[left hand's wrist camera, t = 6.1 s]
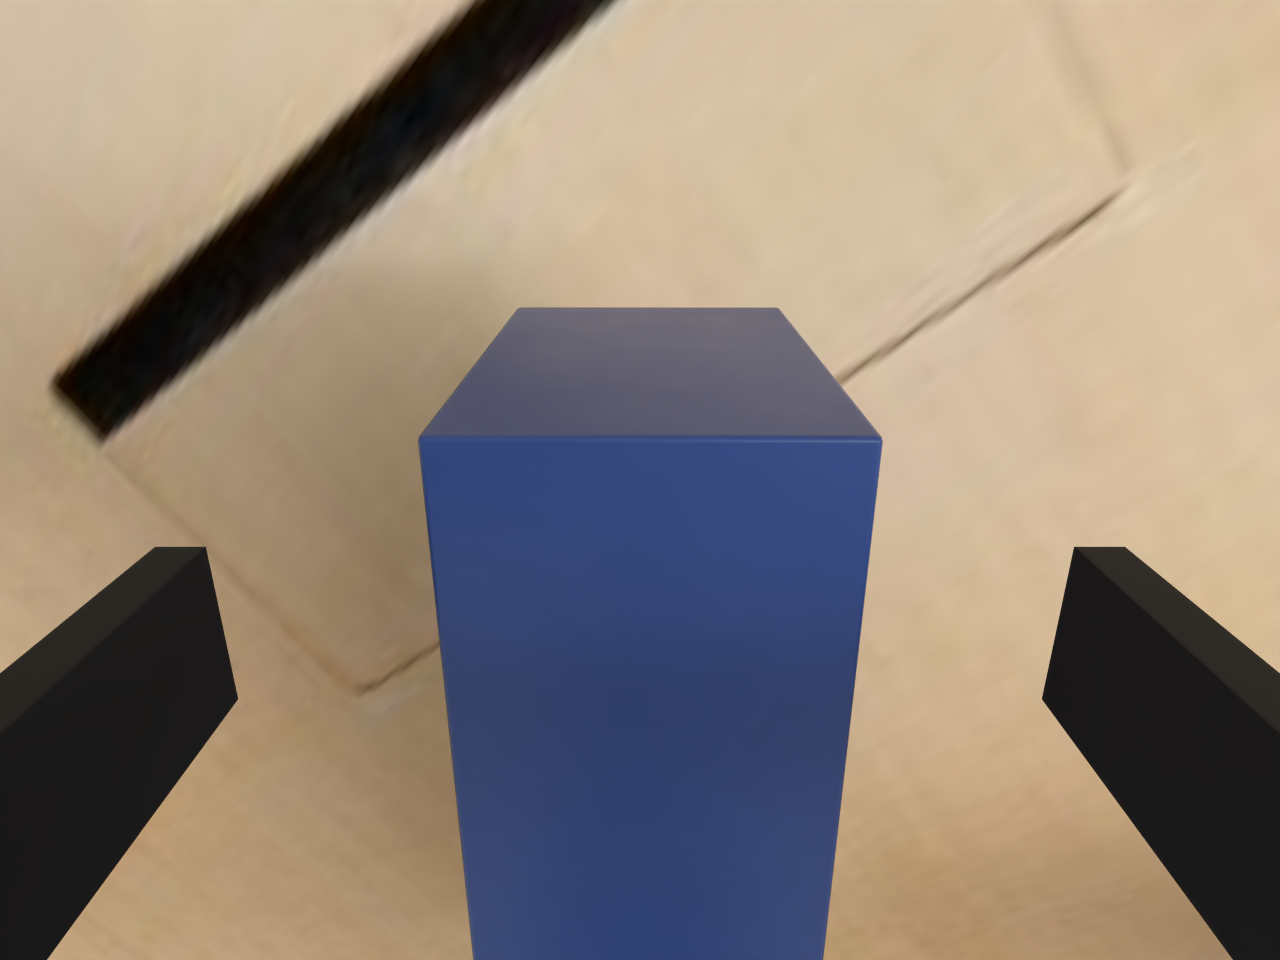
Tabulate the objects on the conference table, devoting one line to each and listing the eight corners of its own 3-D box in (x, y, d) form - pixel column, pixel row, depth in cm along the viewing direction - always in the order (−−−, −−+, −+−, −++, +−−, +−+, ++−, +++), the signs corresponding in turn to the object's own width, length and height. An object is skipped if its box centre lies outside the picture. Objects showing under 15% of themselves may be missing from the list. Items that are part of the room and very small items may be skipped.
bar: (517, 307, 18) (415, 436, 10) (779, 307, 18) (885, 437, 10) (561, 1100, 27) (528, 1480, 20) (730, 1101, 27) (764, 1482, 19)
